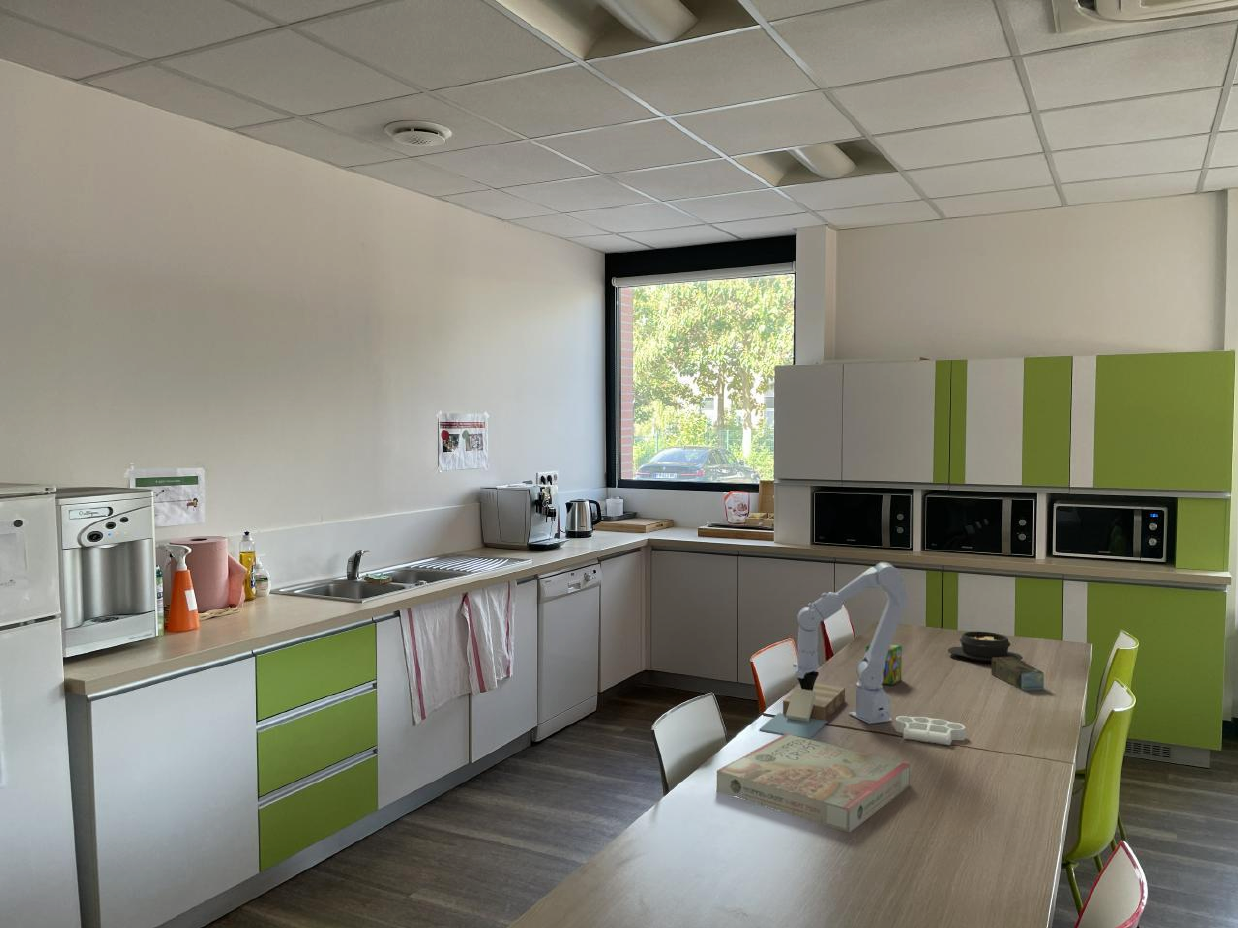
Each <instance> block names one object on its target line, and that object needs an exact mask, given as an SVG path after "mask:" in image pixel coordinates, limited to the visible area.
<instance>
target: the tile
mask: <svg viewBox="0 0 1238 928" xmlns="http://www.w3.org/2000/svg"><path fill="white" fill-rule="evenodd" d="M791 694H792V697H791V700H790V703H789V707H788V710H787V713H786V716H787V719H790V720H796V721H802V722H809V718H810V715H811V711H812V708H813V704H814V700H815V697H816V694H815V691H810V690H804V689H798V688H796V687H794V688H793V691H792V693H791Z"/></svg>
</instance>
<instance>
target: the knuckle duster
mask: <svg viewBox="0 0 1238 928" xmlns="http://www.w3.org/2000/svg"><path fill="white" fill-rule="evenodd" d="M894 720H895V724H894V726H895V727H894V728H895V729H894V730H895V731H896V732H897V733H900V734H902V737H903V739H904V740H906V739H907V740H910V741H915V742H916V741H917V742H922V743H923V742H924V743H927V744H928V742H929V743H930V744H935V743H936V745H944V746H948V747H949V745H950V746H951V745H952V744H951V743H952V742H953V741H952V740H961V741H964V740H966V730H967V729H966V726H965V725H964V724H963V723H958V722H951V721H948V720H946V719H941V718H931V717H926V716H907V715H899V716H896V717H895V719H894ZM963 739H964V740H963ZM907 740H906V741H907Z"/></svg>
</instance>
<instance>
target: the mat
mask: <svg viewBox="0 0 1238 928" xmlns="http://www.w3.org/2000/svg"><path fill="white" fill-rule="evenodd" d="M827 723H828V721H827V720H825V721H824V720H818V719H812V718H809V722H802V721H796V720H790V719H787V716H786V714H783V712H782V713H781V712H778V713H777V714H776V715H774V716H773V717H772V718H771V719H769V720H768V721H767V722H766V723H765V724H764V725H762V726H761V727H760V728H759V730H758V731H760V732H765V733H770V734H776V735H782V736H783V735H785V734H789V735H793V736H797V737H801V738H805V739H810V740H812V738H813V737H814V736H815V735H816V734H817V733H818V732H819V731H820V730H821V729H822V728H823V727H824V726H825V725H826V724H827Z"/></svg>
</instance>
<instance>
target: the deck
mask: <svg viewBox="0 0 1238 928" xmlns="http://www.w3.org/2000/svg"><path fill="white" fill-rule="evenodd" d="M797 689H801V687H798V688H797ZM813 691H815V694H816V697H815V700H814V704H813V708H812V711H811V715H810V718H812V719H818V720H824V721H827V719H829V718H830V716H831V715H832V714H833V713H834V712H836V710H838V708H840V706H842V705H843V704H844V702H846V687H842V686H836V685H829V684H822V683H816V682H815V684H814V687H813ZM791 697H792V693H791V694H790V695H788V696H787V697H786V698H785V699H783V700H782V714H786V713H787V710H788V707H789V703H790V700H791Z"/></svg>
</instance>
